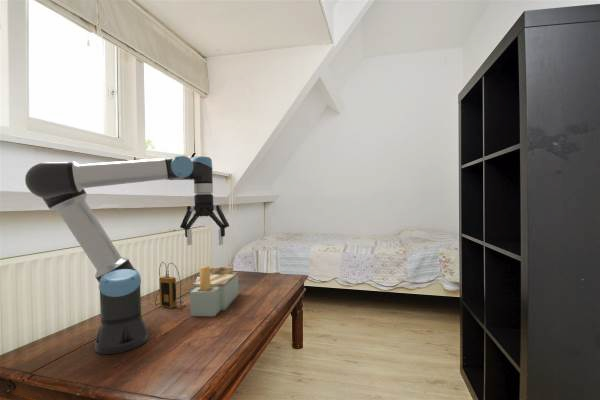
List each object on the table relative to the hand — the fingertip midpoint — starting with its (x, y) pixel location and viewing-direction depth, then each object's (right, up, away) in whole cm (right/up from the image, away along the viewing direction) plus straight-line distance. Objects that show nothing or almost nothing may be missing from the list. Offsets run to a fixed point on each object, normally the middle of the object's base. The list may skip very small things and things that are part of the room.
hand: (205, 244), depth 127 cm
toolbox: (+1, -28, +9) cm, 30 cm away
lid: (+1, -18, +13) cm, 22 cm away
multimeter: (-17, -29, +11) cm, 36 cm away
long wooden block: (0, -25, -1) cm, 25 cm away
